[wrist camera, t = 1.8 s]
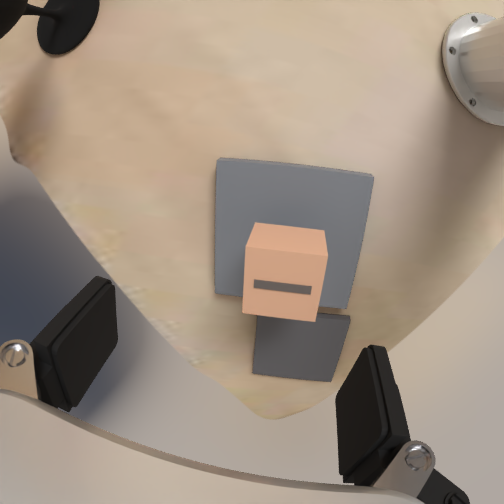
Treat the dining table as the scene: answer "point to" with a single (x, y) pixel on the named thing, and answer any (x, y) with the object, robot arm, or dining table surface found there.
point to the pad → (299, 346)
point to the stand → (290, 217)
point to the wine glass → (53, 21)
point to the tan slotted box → (284, 271)
